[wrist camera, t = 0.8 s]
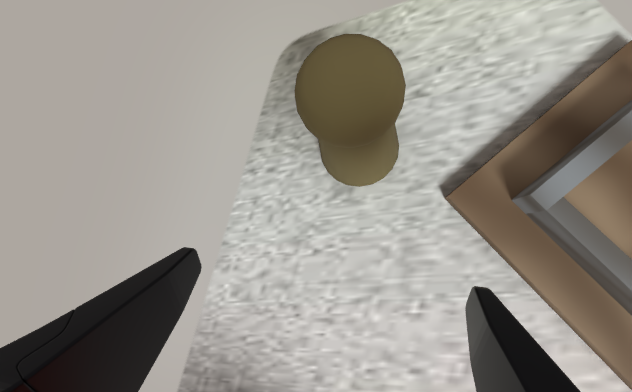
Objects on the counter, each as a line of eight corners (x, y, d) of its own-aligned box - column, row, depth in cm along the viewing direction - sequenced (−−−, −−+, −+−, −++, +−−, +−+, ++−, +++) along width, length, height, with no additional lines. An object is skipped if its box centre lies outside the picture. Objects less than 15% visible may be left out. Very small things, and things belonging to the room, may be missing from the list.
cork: (416, 153, 23) (452, 78, 12) (351, 202, 23) (331, 172, 12) (365, 95, 24) (358, -18, 13) (305, 143, 25) (251, 70, 14)
